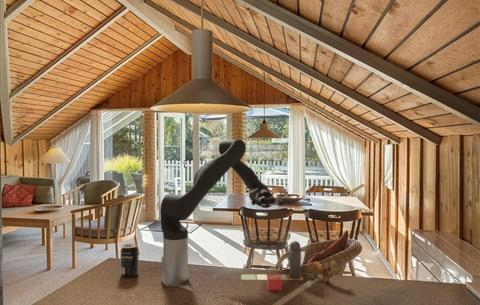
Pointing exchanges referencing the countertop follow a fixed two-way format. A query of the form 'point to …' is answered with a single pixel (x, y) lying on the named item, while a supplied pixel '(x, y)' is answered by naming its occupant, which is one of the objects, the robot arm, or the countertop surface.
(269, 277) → the red die
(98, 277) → the countertop surface
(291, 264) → the grey cylinder
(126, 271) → the beverage can
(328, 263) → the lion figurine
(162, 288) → the countertop surface
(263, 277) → the game board
